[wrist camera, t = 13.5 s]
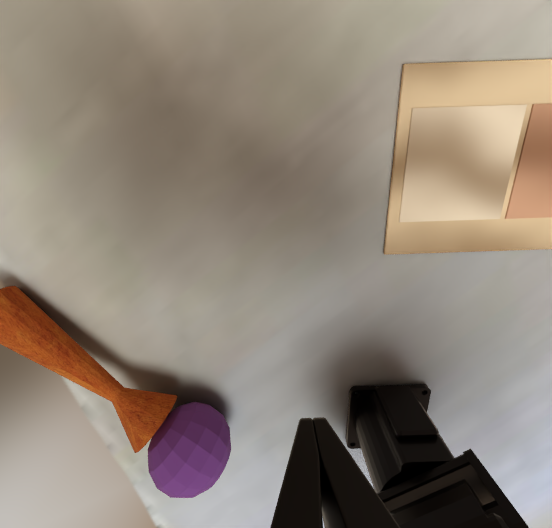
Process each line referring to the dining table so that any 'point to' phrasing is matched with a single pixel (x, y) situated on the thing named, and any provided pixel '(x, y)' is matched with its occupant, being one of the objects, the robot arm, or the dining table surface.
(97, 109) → the dining table surface
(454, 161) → the game board
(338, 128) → the dining table surface
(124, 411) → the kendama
